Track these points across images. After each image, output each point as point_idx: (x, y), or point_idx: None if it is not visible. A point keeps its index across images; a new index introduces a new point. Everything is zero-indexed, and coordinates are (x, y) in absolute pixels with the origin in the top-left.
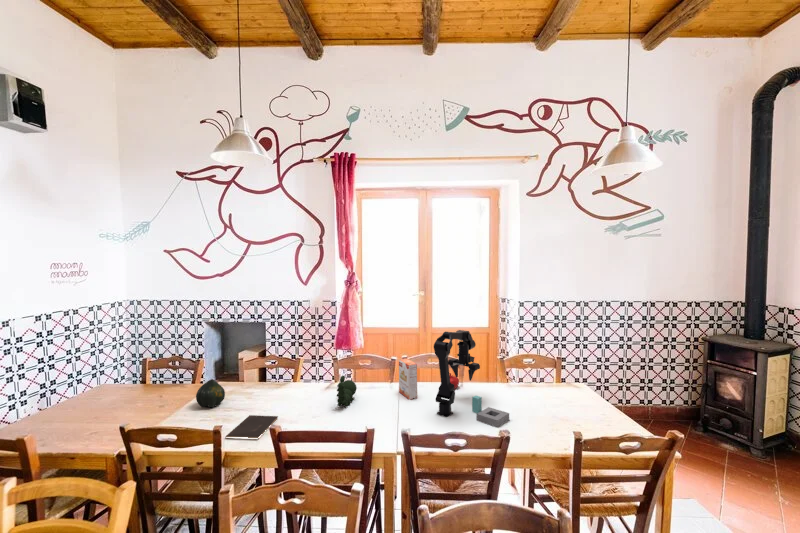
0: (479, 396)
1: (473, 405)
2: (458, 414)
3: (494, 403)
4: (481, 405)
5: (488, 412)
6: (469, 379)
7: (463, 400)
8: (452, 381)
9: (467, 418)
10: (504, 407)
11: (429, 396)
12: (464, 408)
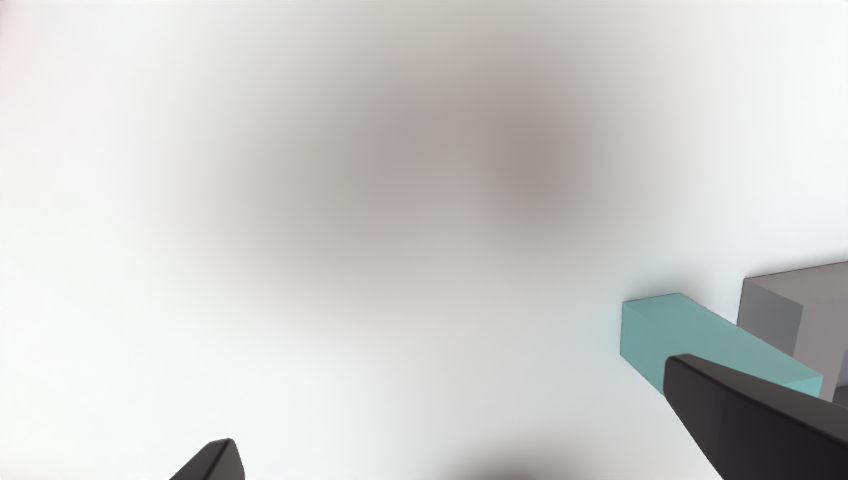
0: (794, 383)
1: None
2: (566, 464)
3: (693, 13)
4: (726, 322)
5: (830, 381)
6: (691, 428)
7: (391, 219)
8: None
9: (653, 458)
10: (819, 33)
11: (59, 420)
12: (531, 356)
